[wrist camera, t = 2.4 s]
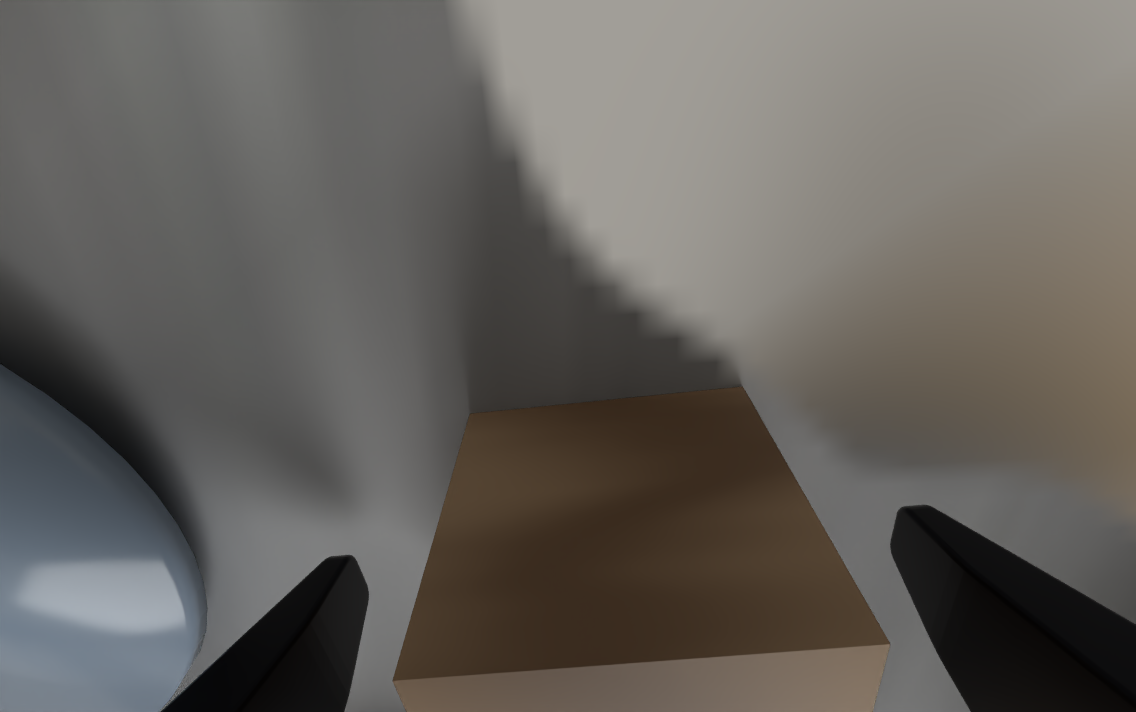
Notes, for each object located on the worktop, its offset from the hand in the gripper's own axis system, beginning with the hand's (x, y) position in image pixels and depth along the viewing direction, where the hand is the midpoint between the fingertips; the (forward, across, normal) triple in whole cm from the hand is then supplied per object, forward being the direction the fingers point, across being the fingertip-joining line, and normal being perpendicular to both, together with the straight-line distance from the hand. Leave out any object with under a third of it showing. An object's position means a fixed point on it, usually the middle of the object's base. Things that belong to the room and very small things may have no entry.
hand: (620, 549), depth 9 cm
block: (+1, 0, 0) cm, 1 cm away
